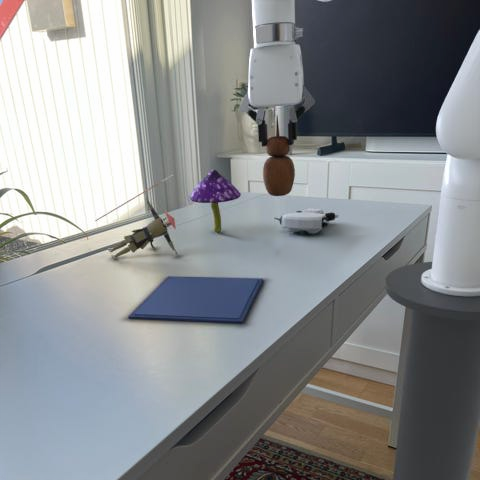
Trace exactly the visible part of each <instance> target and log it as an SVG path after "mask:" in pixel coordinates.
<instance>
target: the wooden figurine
mask: <svg viewBox="0 0 480 480" xmlns="http://www.w3.org/2000/svg"><path fill="white" fill-rule="evenodd" d="M275 122H276V127H275V128H276V129H275V135H274V136H270V137H269V138H268V140H267V144H266V146H265V148H266V149H265V150H266V154H267V155H268V156H269V157H268V158H267V159H266V160H265V162H264V163H263V167H262V179H263V184H264V187H265V190H266V192H267V193H268V195H270V196H273V197H282V196H286V195H288V194H290V193H291V191H292V190H293V186H294V182H295V177H296V170H295V163H294V161H293V159H292V158H291V157H290V156H288V155H289V153H290V150H291V145H289V144H288V136H285V135H280V127H279V126H280V125H279V116H278V114H276V121H275Z"/></svg>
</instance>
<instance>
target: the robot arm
mask: <svg viewBox="0 0 480 480" xmlns="http://www.w3.org/2000/svg"><path fill="white" fill-rule="evenodd" d="M317 1H319V2H323V3H325V2H326V3H327V2H331V1H333V0H317ZM295 3H296V1H295V0H251V12H252V32H253V48H250V52H249V60H248V61H249V63H248V89H247V92H246V94H245V95H244V97H243V98H242V101H241V102H240V104H239V106H238V108H239V110H241V111H242V112H243V113H245V114H246V115H248V116H249V118H251V119H252V120H253V121H254V123H255V124H256V125H257V133H258V134H257V135H258V136H257V137H258V142H259V143H261V147H263V148H264V147H266V144H267V140H268V139H269V138H268V137H269V135H268V123H266V120H265V119H266V113H267V108H271V107H272V108H273V107H285V106H286V108H287V112H288V115H289V120H288V121H289V122H288V123H287V135H288V136H287V138H288V144H289V145H290V146H293V145H294V144H295V141H297V140H298V126H297V125H298V124H297V123H298V120H299V119H300V118H301V117H302V116H303V115H304V113H306V111H308V110H309V109H310V108H311V107H312V106H313V105H315V102H316V100H315V98H314V97H313V96H312V94H311V93H310V91H309V90H308V89H307V88H306V86H305V82H304V81H305V79H304V66H303V65H304V64H303V55H302V50H301V46H300V45H301V44H298V43H297V44H296V42H297V40H298V39H299V38H302V37H304V27H301V28H300V27H297V26H296V7H295V5H296V4H295ZM303 101H304V103H302V102H303ZM300 103H302V105H301V106H299V107H298V108H297V107H296V105H298V104H300ZM251 106H252V107H254V108H257V111H256V110H255V109H254V108H252V107H251ZM435 135H436V139H437V142H438V144H439V146H440V148H441V149H442V150H443V151H444V152H445V153H446V159H445V160H446V161H445V164H444V170H443V176H442V182H441V189H440V190H441V191H440V197H439V206H438V213H437V221H436V230H435V237H434V238H435V239H434V245H433V246H434V247H433V254H432V261H431V262H432V269H430V270H427V271H425V272H424V273H423V274H422V277H421V283H422V284H423V285H424V286H425V287H427V288H428V289H430V290H433V291H435V292H438V293H442V294H447V295H453V296H463V297H476V296H480V29H479V30H478V31H477V33H476V35H475V37H474V39H473V40H472V42H471V45H470V47H469V49H468V52H467V54H466V55H465V57H464V60H463V61H462V64H461V66H460V68H459V70H458V72H457V74H456V76H455V78H454V81H453V82H452V84H451V86H450V87H449V91H448V92H447V95H446V96H445V98H444V101H443V102H442V105H441V108H440V110H439V112H438V115H437V119H436V124H435Z"/></svg>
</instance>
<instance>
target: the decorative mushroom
mask: <svg viewBox="0 0 480 480" xmlns="http://www.w3.org/2000/svg"><path fill="white" fill-rule="evenodd" d="M241 195H242V193H241V192H240V190H239V189H237V188H236V187H235V186H234V185H233V184H232V183H231V182H230V181H229V180H228V179H227V178H226V177H224V176H223V175H222V174H221V173H220V172H218V170H216V169H210V170H209V171H208V173H207V174H206V176H205V177H204V178H202V180H201V181H199V183H198V184H197V185H196V186H195V188H194V189H193V191H192V193H190V196H189V198H188V199H189V200H190V201H191V202H193V203H199V204H210V207H211V211H212V216H213V231H214V233H220V232H222V217H221V216H222V215H221V211H220V207H219V206H220V205H219V203H225V202H226V203H227V202H231V201H235V200H238V199H239V198H240V197H241Z"/></svg>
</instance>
